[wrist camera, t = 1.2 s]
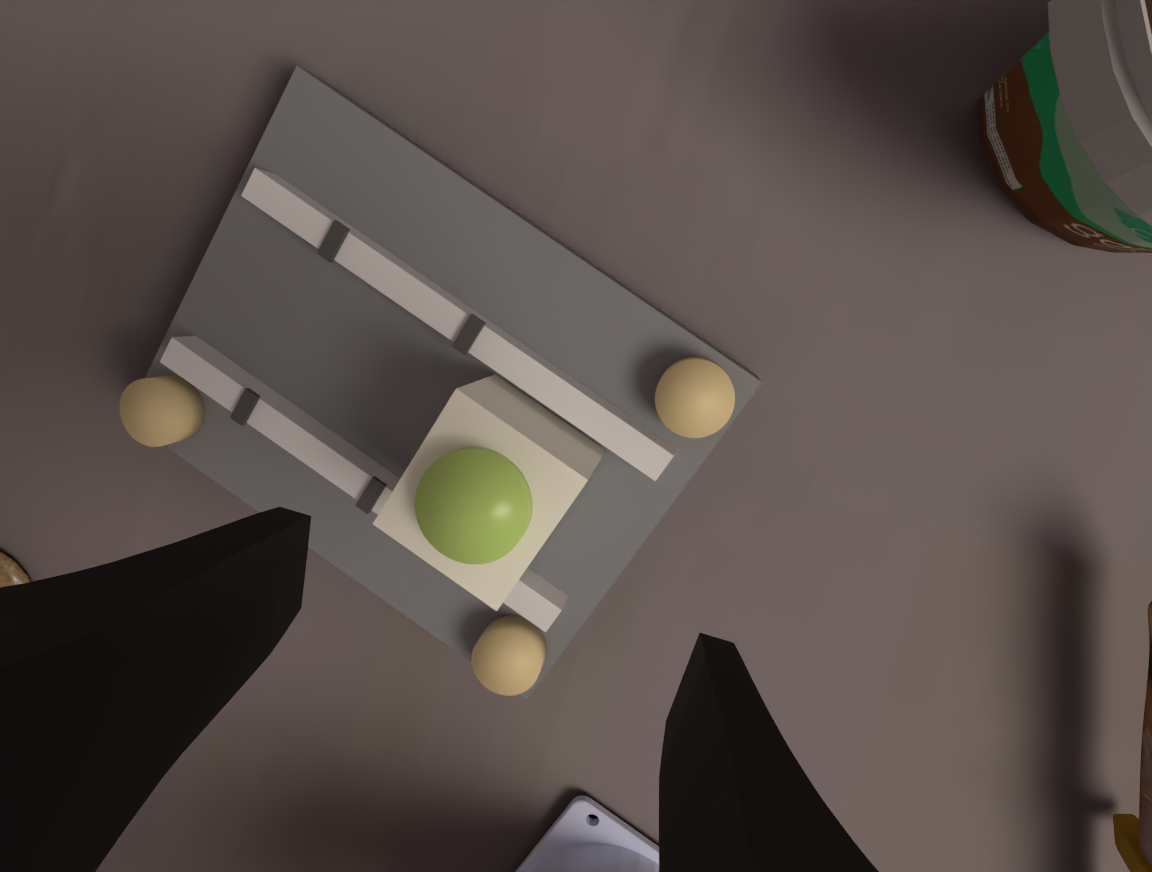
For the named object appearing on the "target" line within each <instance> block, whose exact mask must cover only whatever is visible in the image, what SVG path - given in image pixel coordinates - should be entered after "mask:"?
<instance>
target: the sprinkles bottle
mask: <svg viewBox="0 0 1152 872" xmlns="http://www.w3.org/2000/svg"><path fill="white" fill-rule="evenodd" d="M28 582H31V581H30V580H29V578H28V576H27V575H26V574H25V573H24V571H23V570H22V569H21V568H20V566H19V565H18V564H17V563H16V562H15V561H13V560H12V559H11V558H10V557H8V556H6V555H5V554H4V553H2V552H0V587H6V586H11V585H17V584H23V583H28Z"/></svg>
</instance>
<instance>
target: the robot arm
mask: <svg viewBox="0 0 1152 872" xmlns="http://www.w3.org/2000/svg"><path fill="white" fill-rule="evenodd" d="M310 524H311V516H310V515H306V514H303V513H300V512H296V511H293V510H290V509H286V508H283V507H277V508H273V509H270V510H266V511H263V512H260V513H257V514H254V515H252V516H249V517H246V518H243V519H240V520H237V521H235V522H232V523H229V524H226V525H224V526H221V527H218V528H215V529H212V530H210V531H207V532H204V533H201V534H198V535H195V536H192V537H190V538H187V539H184V540H181V541H178V542H175V543H172V544H169V545H166V546H163V547H160V548H156V549H153V550H150V551H147V552H144V553H140V554H137V555H134V556H131V557H127V558H124V559H121V560H118V561H115V562H111V563H108V564H104V565H100V566H97V567H93V568H89V569H85V570H81V571H77V572H73V573H69V574H64V575H60V576H56V577H51V578H47V579H43V580H38V581H33V582H28V583H23V584H17V585H11V586H6V587H0V872H95V871H96V870H97V868H98V867H99V865H100V864H101V863H102V861H103V860H104V858H105V857H106V855H107V854H108V852H109V851H110V850H111V848H112V847H113V845H114V844H115V842H116V841H117V840H118V838H119V837H120V835H121V834H122V832H123V831H124V830H125V828H126V827H127V825H128V824H129V823H130V821H131V820H132V819H133V817H134V816H135V814H136V813H137V812H138V810H139V809H140V808H141V806H142V805H143V804H144V802H145V801H146V799H147V798H148V797H149V795H150V794H151V793H152V791H153V790H154V788H155V787H156V786H157V784H158V783H159V782H160V780H161V779H162V778H163V776H164V775H165V774H166V773H167V771H168V770H169V769H170V768H171V766H172V765H173V764H174V763H175V762H176V760H177V759H178V758H179V757H180V756H181V754H182V753H183V752H184V751H185V750H186V749H187V747H188V746H189V745H190V744H191V743H192V742H193V741H194V740H195V738H196V737H197V736H198V735H199V734H200V733H201V732H202V731H203V729H204V728H205V727H206V726H207V725H208V724H209V723H210V722H211V721H212V719H213V718H214V717H215V716H216V715H217V714H218V713H219V712H220V710H221V709H222V708H223V707H224V706H225V705H226V704H227V703H228V701H229V700H230V699H231V698H232V697H233V696H234V695H235V694H236V693H237V691H238V690H239V689H240V688H241V687H242V686H243V685H244V683H245V682H246V681H247V680H248V679H249V678H250V677H251V675H252V674H253V673H254V672H255V671H256V670H257V669H258V668H259V666H260V665H261V664H262V663H263V662H264V661H265V659H266V658H267V657H268V656H269V655H270V654H271V652H272V651H273V649H274V648H275V646H276V645H277V643H278V642H279V641H280V639H281V638H282V636H283V635H284V633H285V632H286V630H287V629H288V627H289V626H290V624H291V623H292V621H293V620H294V618H295V617H296V615H297V614H298V612H299V610H300V609H301V604H302V595H303V586H304V578H305V569H306V560H307V551H308V542H309V533H310ZM589 814H594V815H596V816H597V817H598V819H592V818H590V817H589V816H588V815H589ZM515 872H878V870H877V869H876V868H875V867H874V866H873V865H872V863H871V862H870V861H869V860H868V859H867V857H866V856H865V855H864V854H863V852H862V851H861V850H860V849H859V848H858V846H857V845H856V844H855V843H854V841H853V840H852V839H851V837H850V836H849V835H848V833H847V832H846V831H845V829H844V828H843V827H842V825H841V824H840V823H839V821H838V820H837V819H836V817H835V816H834V815H833V813H832V812H831V811H830V809H829V808H828V807H827V805H826V804H825V802H824V801H823V800H822V798H821V797H820V795H819V794H818V792H817V791H816V789H815V788H814V786H813V785H812V783H811V782H810V780H809V779H808V777H807V776H806V774H805V772H804V771H803V769H802V768H801V766H800V765H799V763H798V761H797V760H796V758H795V757H794V755H793V754H792V752H791V750H790V749H789V747H788V745H787V743H786V742H785V740H784V738H783V736H782V735H781V733H780V731H779V729H778V727H777V726H776V724H775V722H774V720H773V718H772V717H771V715H770V713H769V711H768V709H767V707H766V705H765V703H764V702H763V700H762V698H761V696H760V694H759V692H758V690H757V688H756V686H755V684H754V682H753V680H752V678H751V676H750V674H749V672H748V670H747V668H746V666H745V664H744V662H743V660H742V658H741V656H740V654H739V652H738V650H737V648H736V646H735V644H734V643H732V642H729V641H726V640H722V639H719V638H716V637H712V636H709V635H706V634H702V633H699V636H698V639H697V641H696V644H695V646H694V649H693V652H692V654H691V657H690V660H689V662H688V665H687V667H686V670H685V673H684V675H683V678H682V681H681V683H680V686H679V688H678V691H677V694H676V696H675V699H674V702H673V704H672V707H671V709H670V712H669V715H668V717H667V720H666V726H665V734H664V741H663V749H662V757H661V766H660V775H659V846H657V845H656V844H655V843H653V842H652V841H650V840H649V839H647V838H646V837H645V836H643V835H642V834H640V833H639V832H638V831H636V830H635V829H633V828H632V827H631V826H629V825H628V824H626V823H625V822H623V821H622V820H621V819H619V818H618V817H616V816H615V815H614V814H612V813H611V812H609V811H608V810H606V809H605V808H604V807H602V806H601V805H599V804H598V803H597V802H595V801H594V800H592V799H591V798H589V797H587V796H583V795H580V796H576V797H575V798H574V799H573V800H572V801H571V802H570V803H569V805H568V806H567V807H566V808H565V810H564V811H563V812H562V813H561V815H560V816H559V817H558V818H557V820H556V821H555V822H554V823H553V825H552V826H551V827H550V828H549V830H548V831H547V832H546V833H545V835H544V836H543V837H542V838H541V840H540V841H539V842H538V843H537V845H536V846H535V847H534V848H533V850H532V851H531V852H530V853H529V855H528V856H527V857H526V858H525V860H524V861H523V862H522V864H521V865H520V866H519V867H518V869H517V870H516V871H515Z"/></svg>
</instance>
